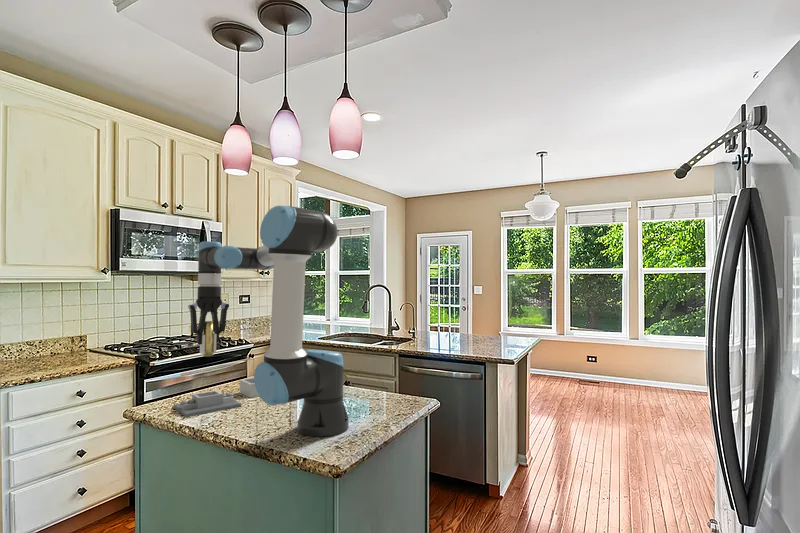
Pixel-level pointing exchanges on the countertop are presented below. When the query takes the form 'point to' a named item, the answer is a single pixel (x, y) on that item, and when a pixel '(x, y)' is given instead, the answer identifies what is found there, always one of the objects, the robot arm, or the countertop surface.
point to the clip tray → (248, 387)
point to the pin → (208, 338)
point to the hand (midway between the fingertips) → (208, 352)
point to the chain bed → (207, 403)
